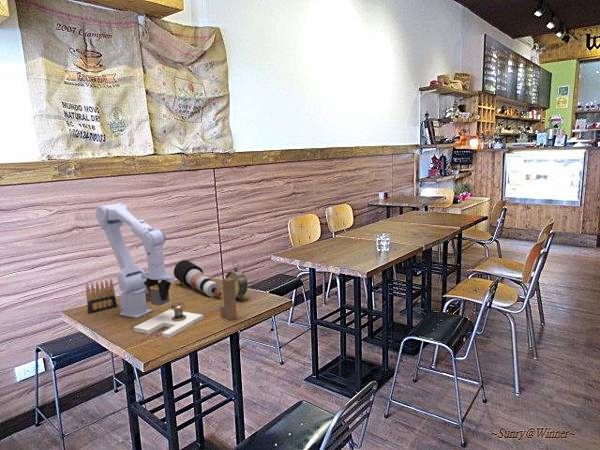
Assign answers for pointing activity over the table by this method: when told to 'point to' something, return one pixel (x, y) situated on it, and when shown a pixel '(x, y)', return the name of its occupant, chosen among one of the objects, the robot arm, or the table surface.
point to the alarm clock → (238, 282)
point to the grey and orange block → (157, 296)
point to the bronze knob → (178, 312)
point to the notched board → (168, 323)
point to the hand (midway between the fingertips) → (159, 299)
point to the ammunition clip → (100, 297)
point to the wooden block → (229, 299)
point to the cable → (195, 278)
